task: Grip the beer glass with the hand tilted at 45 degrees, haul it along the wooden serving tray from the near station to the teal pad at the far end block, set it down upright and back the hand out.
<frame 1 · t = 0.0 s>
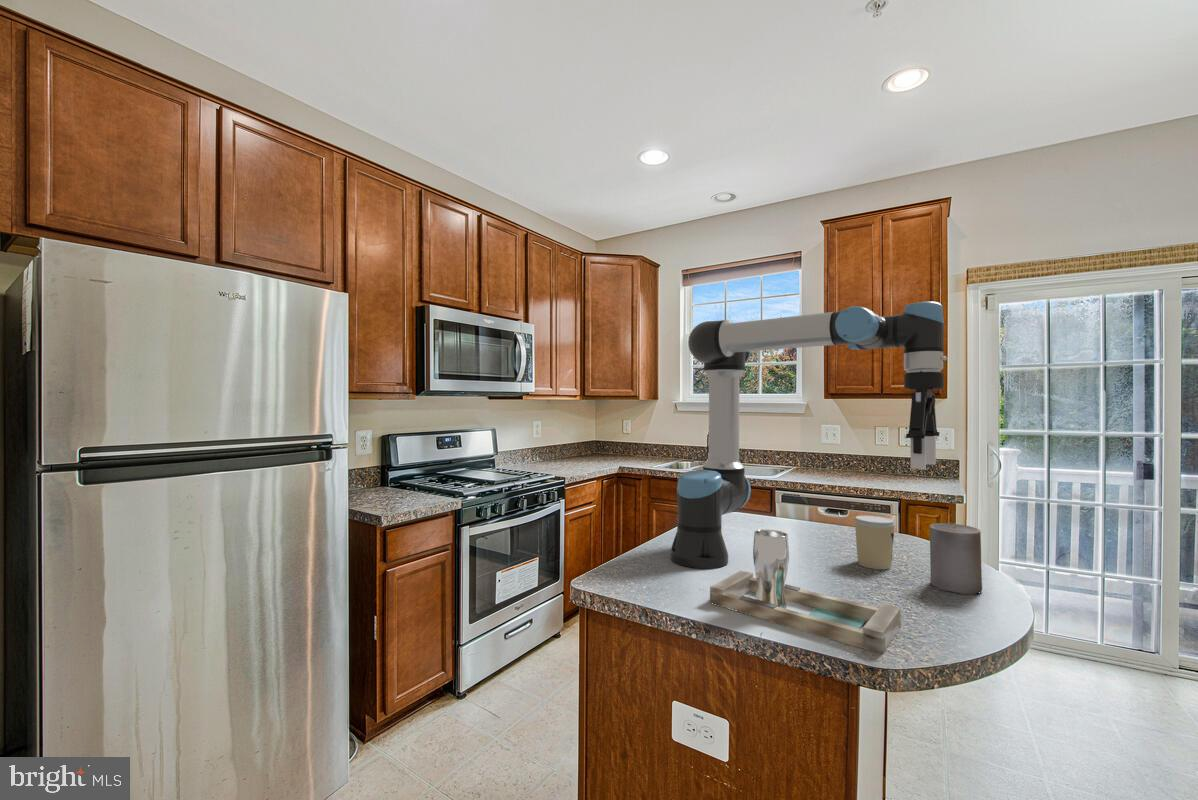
hand: (923, 466, 113), 28 cm above the worktop, tool pointing down, fingers open, 13 cm apart
dark gray cylinder: (955, 588, 116), on the worktop
coffee cup: (874, 565, 132), on the worktop
wooden serving tray: (800, 614, 99), on the worktop
beer glass: (770, 607, 103), resting in wooden serving tray
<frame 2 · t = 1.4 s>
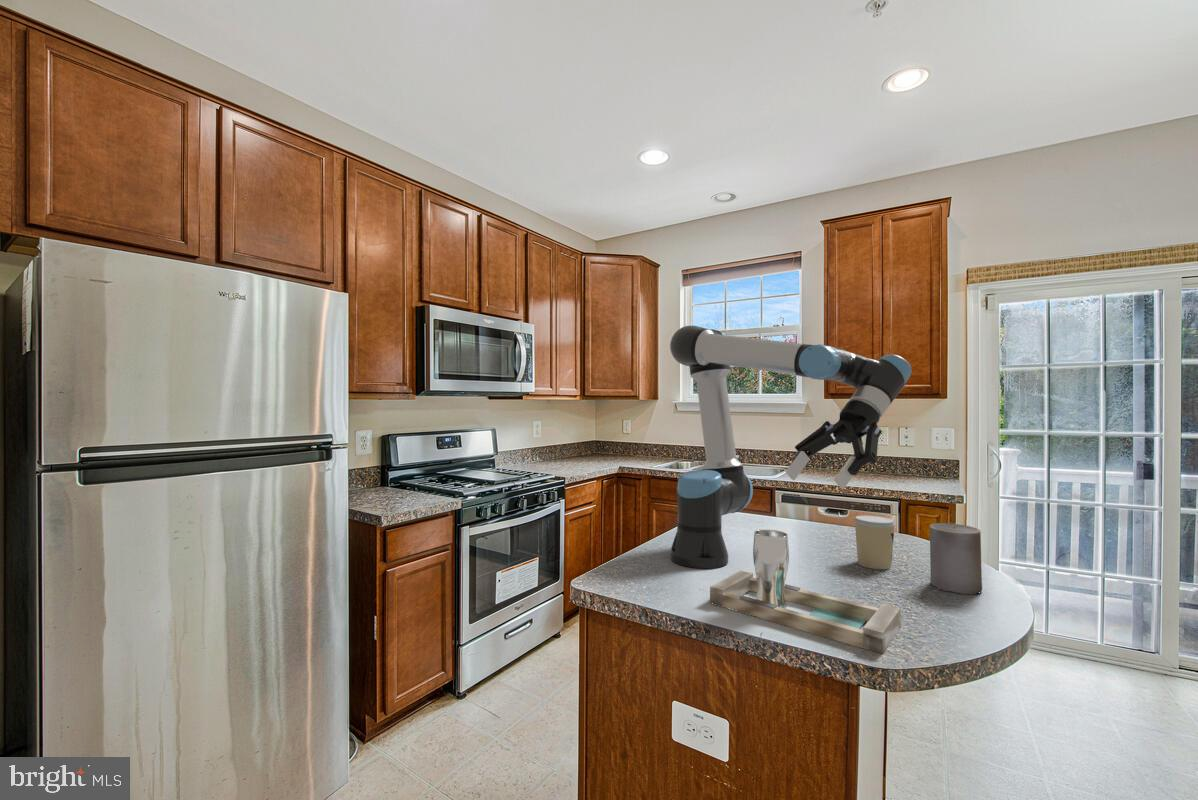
hand: (812, 480, 108), 25 cm above the worktop, tool tilted 45°, fingers open, 13 cm apart
nothing on the worktop moved.
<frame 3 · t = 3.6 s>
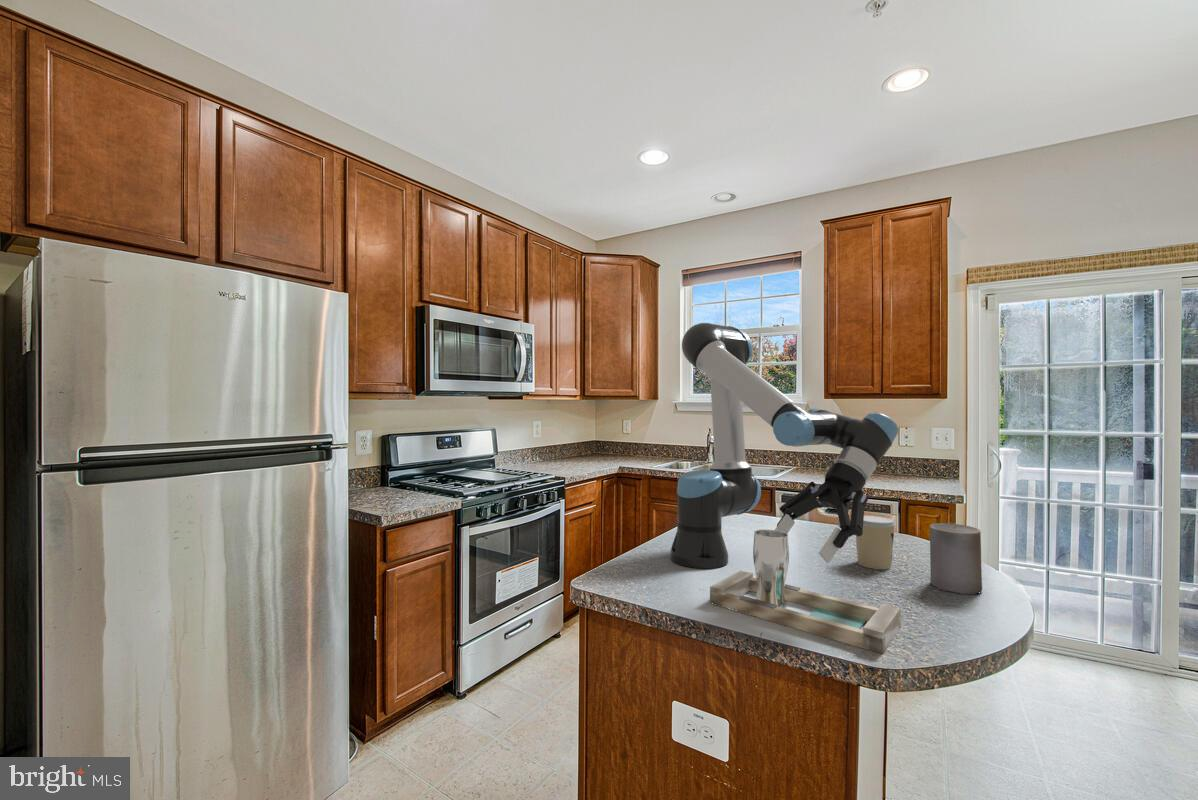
hand: (797, 549, 104), 12 cm above the worktop, tool tilted 45°, fingers open, 13 cm apart
nothing on the worktop moved.
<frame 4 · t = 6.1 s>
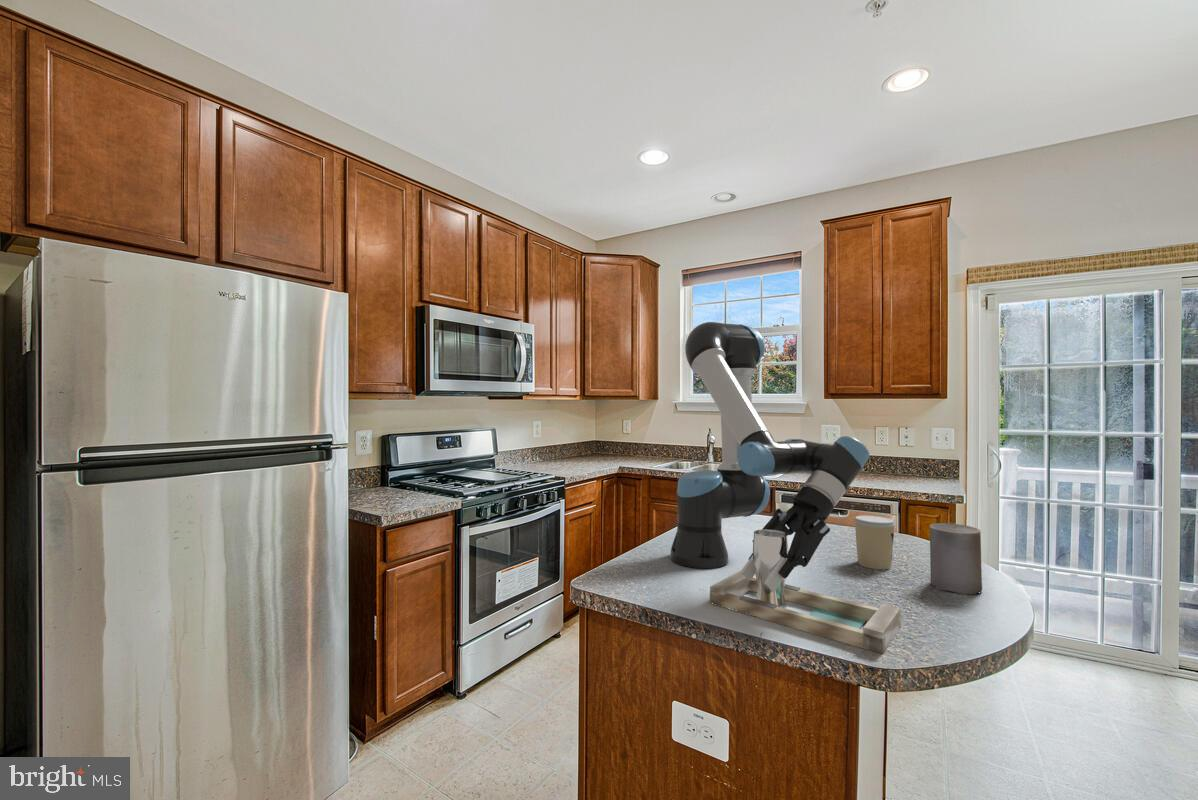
hand: (756, 581, 102), 5 cm above the worktop, tool tilted 45°, fingers closed on beer glass, 6 cm apart
beer glass: (770, 607, 103), resting in wooden serving tray, touching gripper
everything else where it was.
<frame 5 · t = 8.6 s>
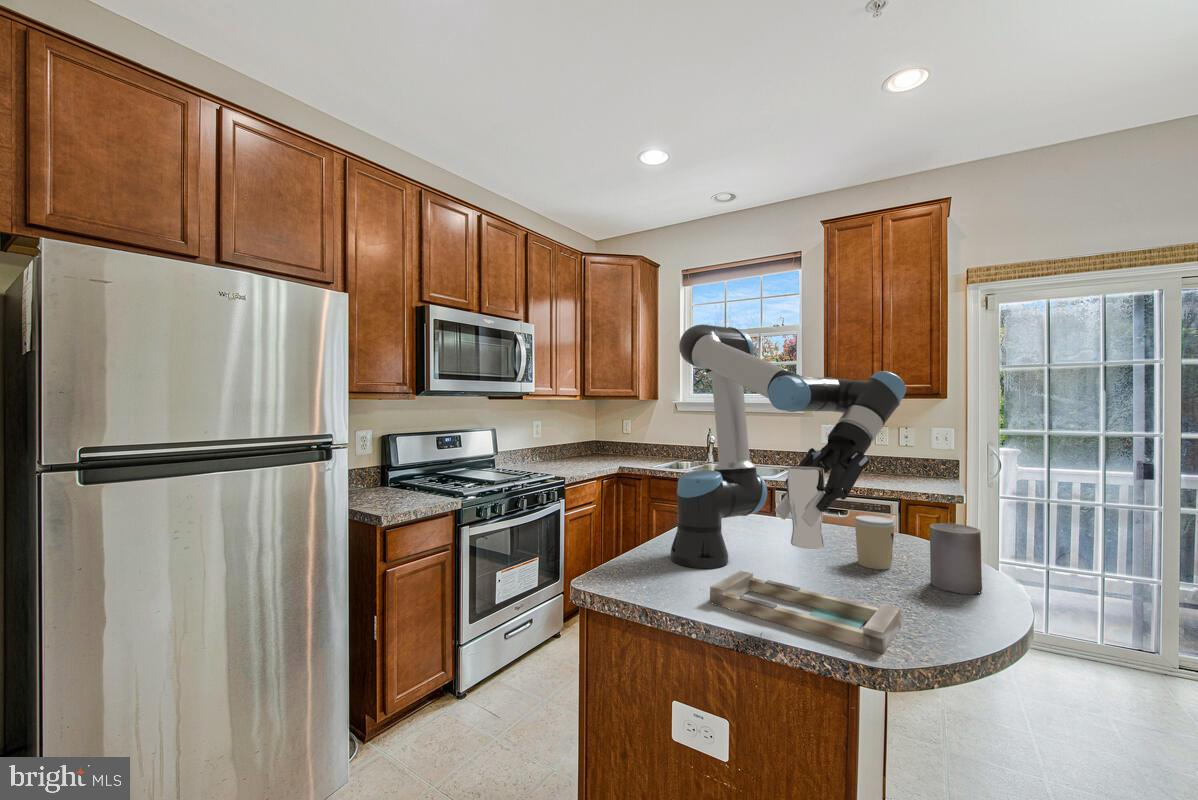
hand: (792, 518, 97), 19 cm above the worktop, tool tilted 45°, fingers closed on beer glass, 6 cm apart
beer glass: (807, 546, 98), point 14 cm above the worktop, touching gripper
everything else where it was.
when the fingers open (7 cm above the worktop, at t = 11.5 s): beer glass drops 1 cm, resting on wooden serving tray.
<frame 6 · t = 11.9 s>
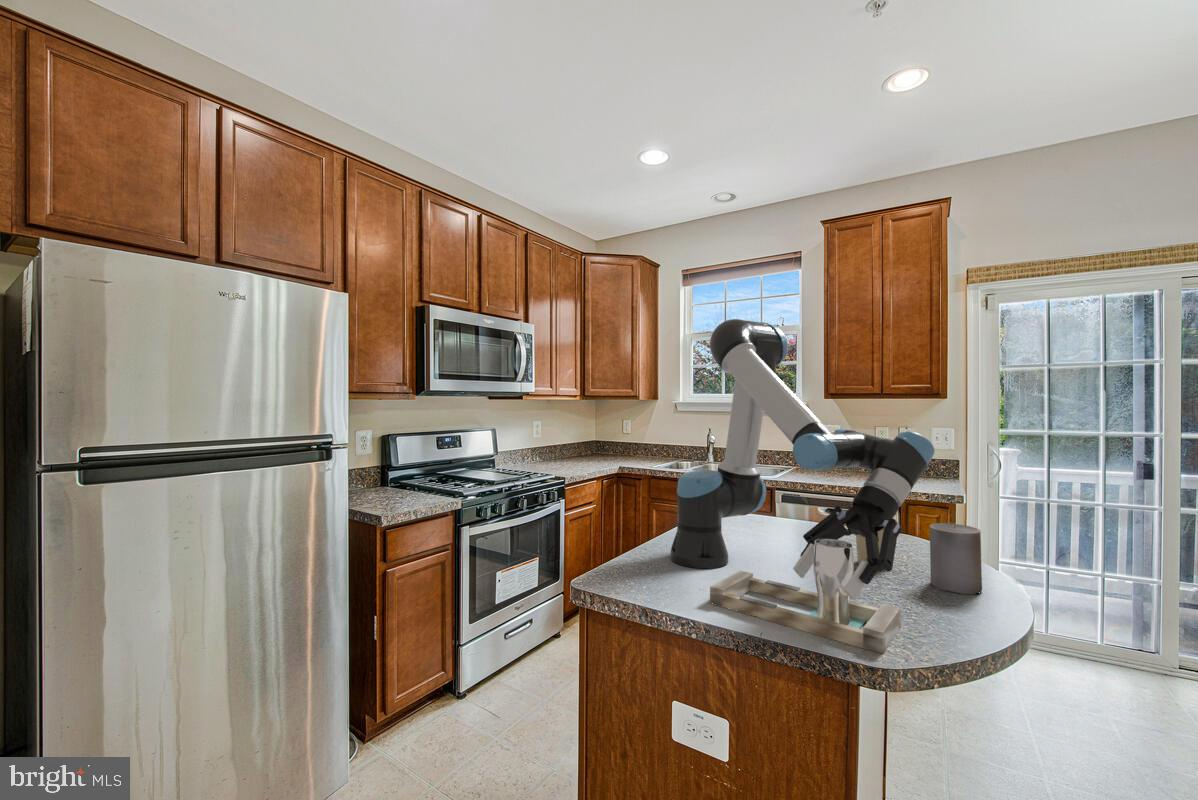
hand: (821, 583, 95), 8 cm above the worktop, tool tilted 45°, fingers open, 11 cm apart
beer glass: (833, 623, 95), resting on wooden serving tray
everything else where it was.
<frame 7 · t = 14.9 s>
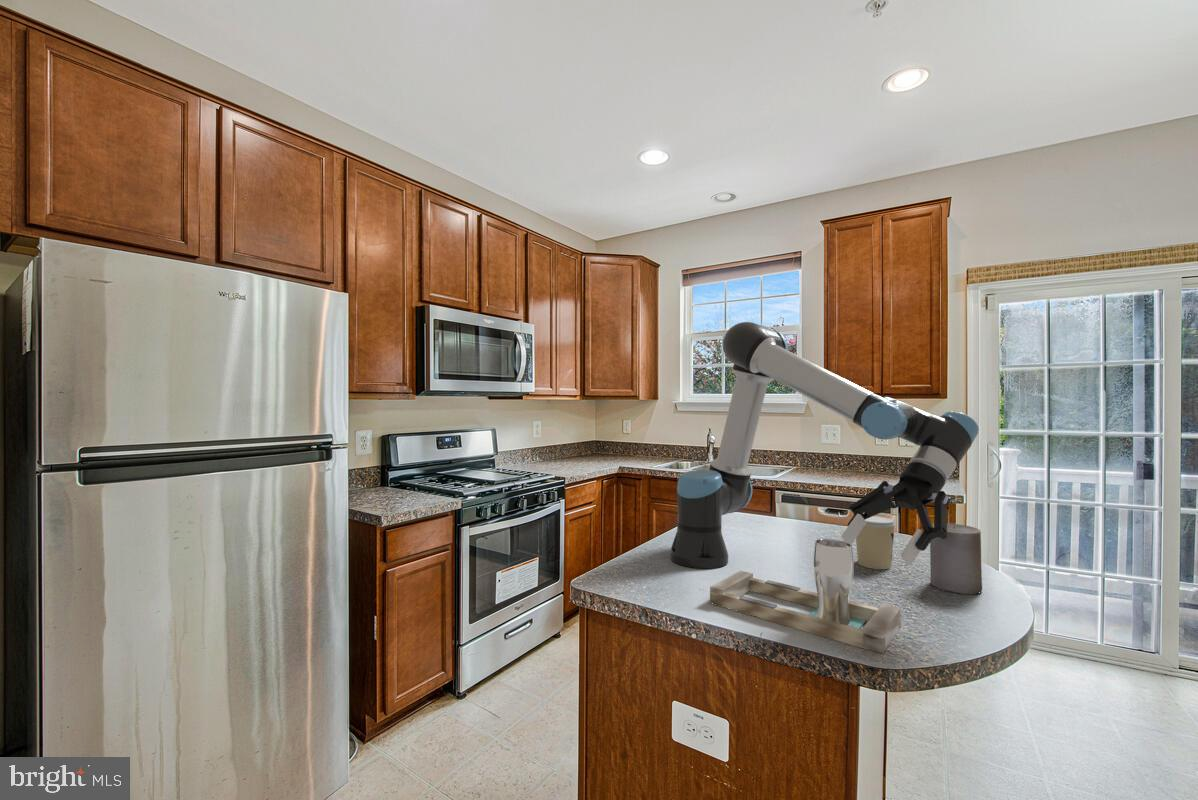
hand: (873, 550, 101), 13 cm above the worktop, tool tilted 45°, fingers open, 13 cm apart
nothing on the worktop moved.
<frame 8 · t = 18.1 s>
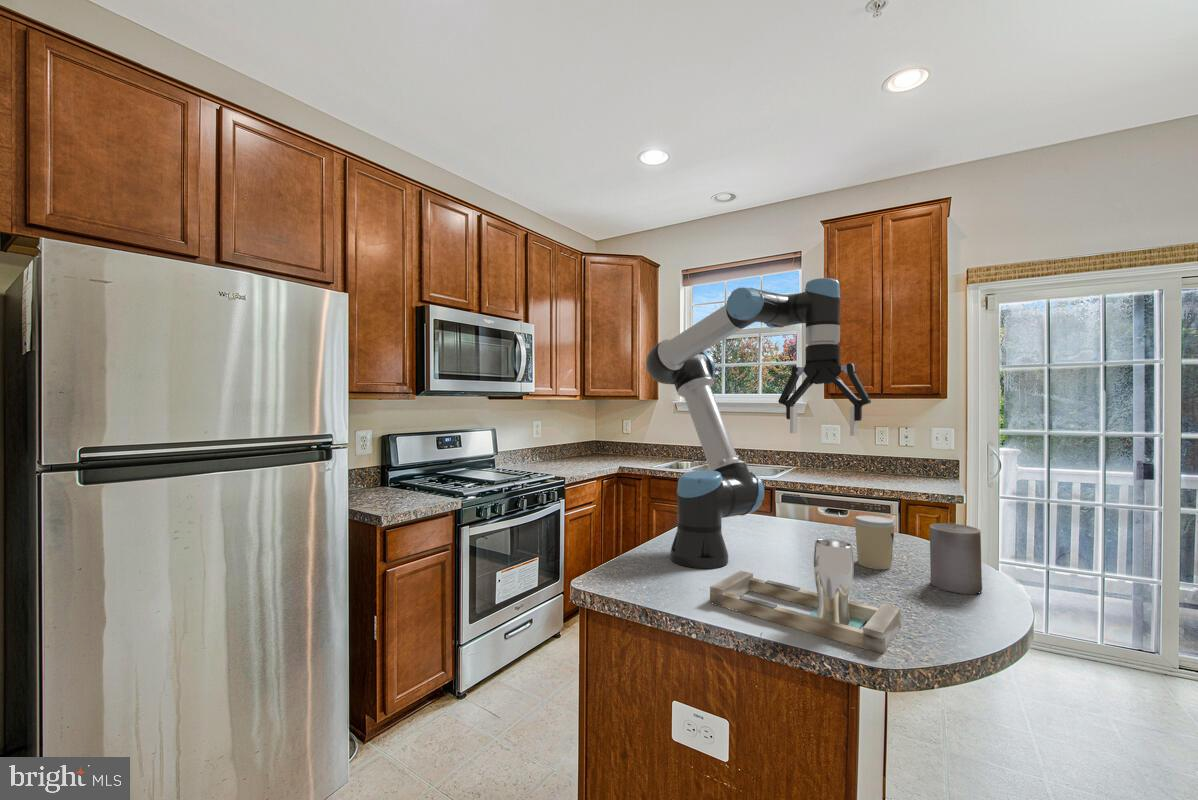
hand: (822, 434, 119), 35 cm above the worktop, tool pointing down, fingers open, 13 cm apart
nothing on the worktop moved.
at the end: beer glass 0.1 cm from the target spot, resting on wooden serving tray; beer glass tilted 0°; the gripper is holding nothing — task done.
